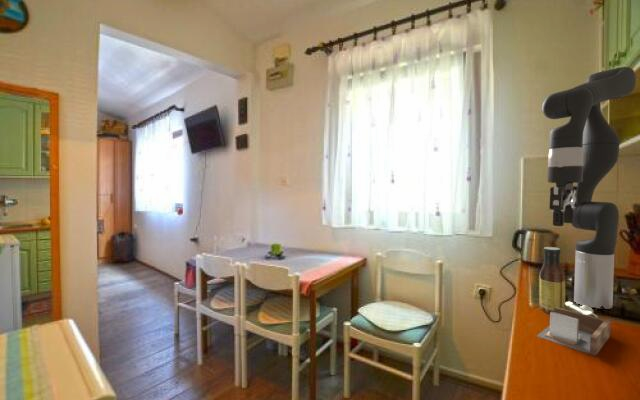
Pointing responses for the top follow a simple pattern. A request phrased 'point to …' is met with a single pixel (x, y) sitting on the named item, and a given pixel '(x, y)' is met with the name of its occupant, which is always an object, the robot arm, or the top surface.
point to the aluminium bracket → (565, 328)
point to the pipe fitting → (580, 309)
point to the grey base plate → (581, 346)
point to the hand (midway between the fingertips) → (563, 224)
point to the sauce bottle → (551, 281)
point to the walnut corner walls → (590, 328)
